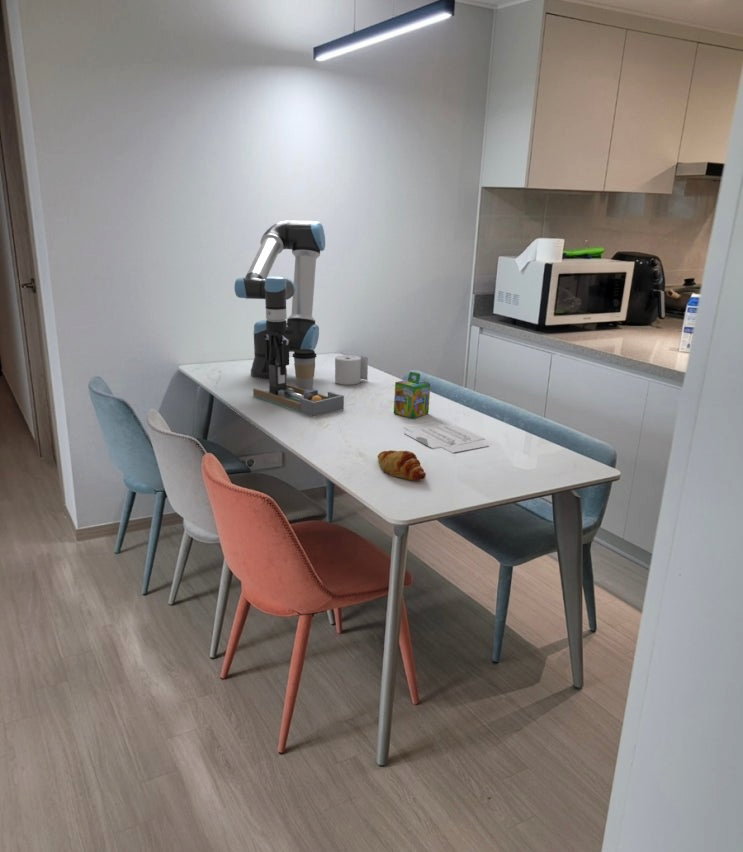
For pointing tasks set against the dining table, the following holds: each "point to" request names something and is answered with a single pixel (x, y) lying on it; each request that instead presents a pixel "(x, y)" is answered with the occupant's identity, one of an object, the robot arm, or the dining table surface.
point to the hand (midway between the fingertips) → (277, 381)
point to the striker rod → (275, 387)
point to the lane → (284, 397)
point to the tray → (445, 436)
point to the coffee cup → (304, 367)
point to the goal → (322, 405)
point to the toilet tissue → (350, 369)
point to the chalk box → (412, 397)
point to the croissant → (401, 464)
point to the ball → (316, 398)
